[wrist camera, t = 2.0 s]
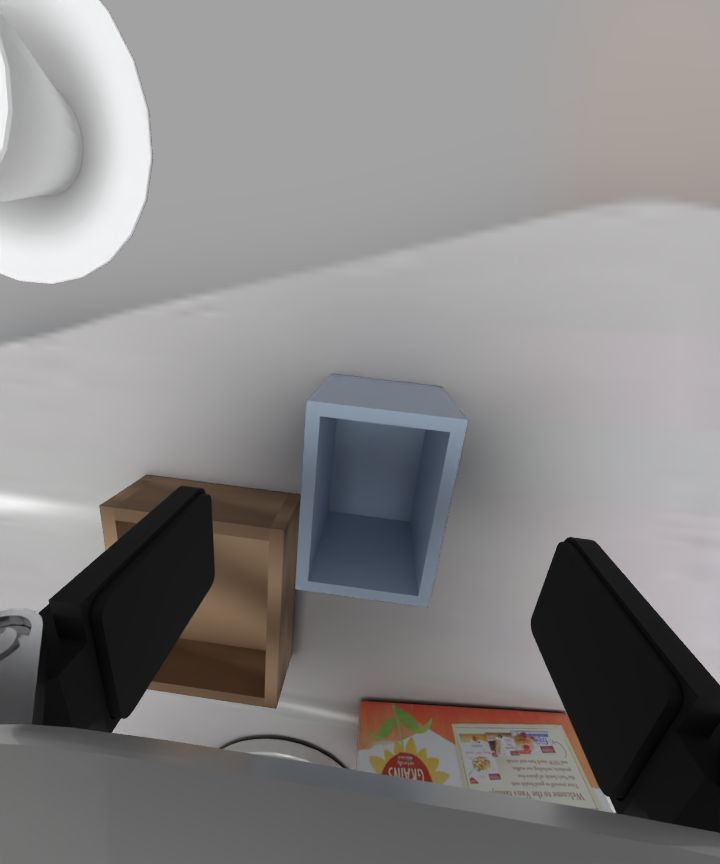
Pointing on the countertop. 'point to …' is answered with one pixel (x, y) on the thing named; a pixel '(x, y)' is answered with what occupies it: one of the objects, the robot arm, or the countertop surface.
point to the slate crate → (376, 488)
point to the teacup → (68, 140)
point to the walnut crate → (229, 591)
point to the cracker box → (479, 751)
